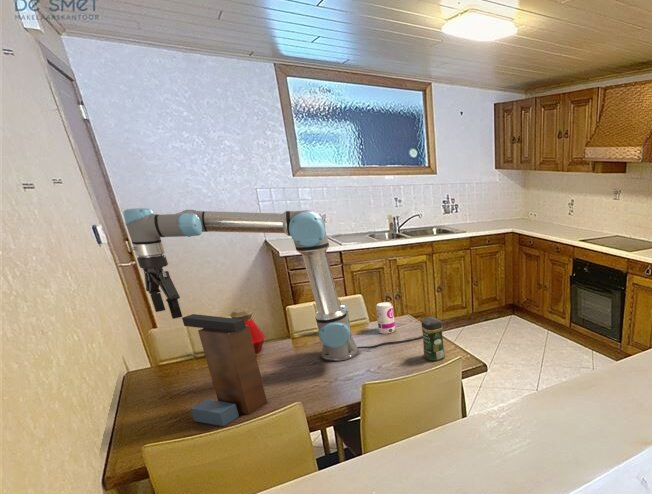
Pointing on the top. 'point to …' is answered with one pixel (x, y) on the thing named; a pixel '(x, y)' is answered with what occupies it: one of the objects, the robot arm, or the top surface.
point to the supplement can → (385, 317)
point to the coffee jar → (432, 338)
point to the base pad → (215, 412)
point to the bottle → (250, 327)
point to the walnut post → (234, 368)
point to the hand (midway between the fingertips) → (168, 314)
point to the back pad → (214, 322)
